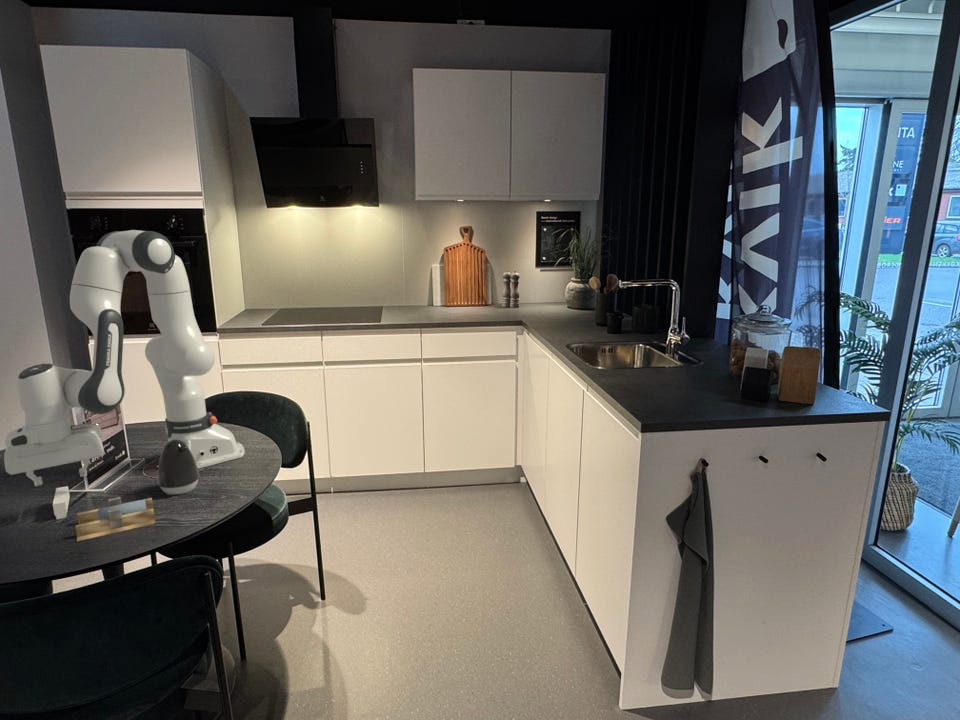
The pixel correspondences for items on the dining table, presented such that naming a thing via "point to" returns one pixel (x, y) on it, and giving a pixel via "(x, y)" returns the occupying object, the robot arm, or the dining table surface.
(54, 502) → the tie bar
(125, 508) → the light blue block
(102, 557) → the dining table surface
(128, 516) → the brown low boxy piece
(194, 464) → the dark grey egg shape
